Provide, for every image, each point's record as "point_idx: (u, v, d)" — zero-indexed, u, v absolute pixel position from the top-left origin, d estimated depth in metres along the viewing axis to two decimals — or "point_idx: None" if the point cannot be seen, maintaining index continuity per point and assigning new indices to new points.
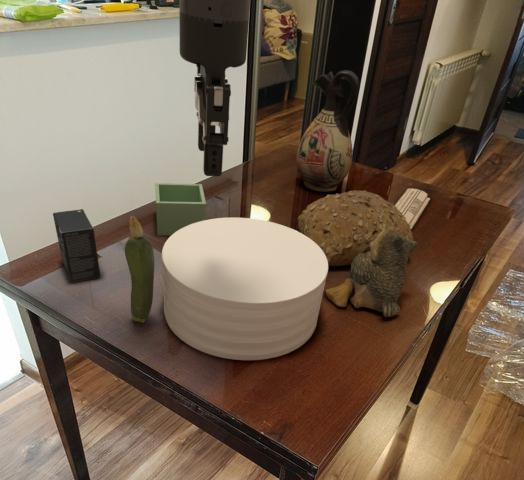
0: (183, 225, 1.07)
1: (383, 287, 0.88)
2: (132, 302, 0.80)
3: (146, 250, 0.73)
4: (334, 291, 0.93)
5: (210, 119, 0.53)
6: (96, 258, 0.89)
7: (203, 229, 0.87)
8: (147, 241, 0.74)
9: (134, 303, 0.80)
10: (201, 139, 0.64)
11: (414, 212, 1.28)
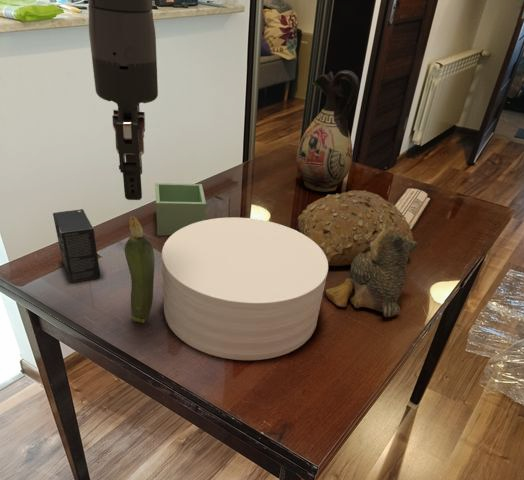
0: (183, 225, 1.07)
1: (383, 287, 0.88)
2: (132, 302, 0.80)
3: (146, 250, 0.73)
4: (334, 291, 0.93)
5: (122, 151, 0.58)
6: (96, 258, 0.89)
7: (203, 229, 0.87)
8: (147, 241, 0.74)
9: (134, 303, 0.80)
10: None
11: (414, 212, 1.28)
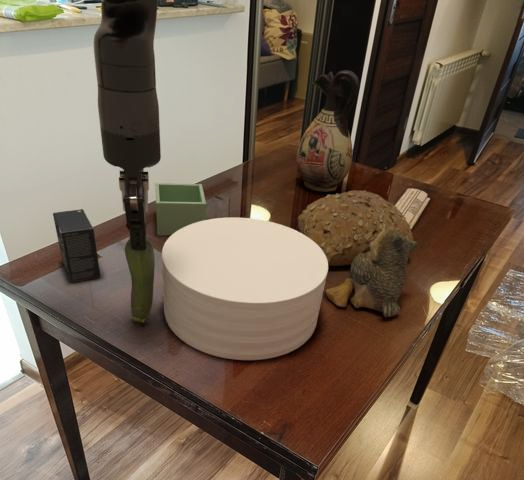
0: (183, 225, 1.07)
1: (383, 287, 0.88)
2: (132, 302, 0.80)
3: (146, 250, 0.73)
4: (334, 291, 0.93)
5: (129, 218, 0.65)
6: (96, 258, 0.89)
7: (203, 229, 0.87)
8: (147, 241, 0.74)
9: (134, 303, 0.80)
10: None
11: (414, 212, 1.28)
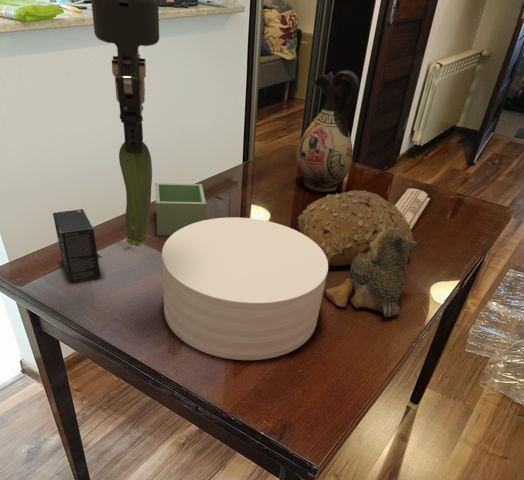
0: (183, 225, 1.07)
1: (383, 287, 0.88)
2: (127, 221, 0.73)
3: (143, 155, 0.66)
4: (334, 291, 0.93)
5: (123, 105, 0.58)
6: (96, 258, 0.89)
7: (203, 229, 0.87)
8: (144, 145, 0.66)
9: (129, 222, 0.72)
10: None
11: (414, 212, 1.28)
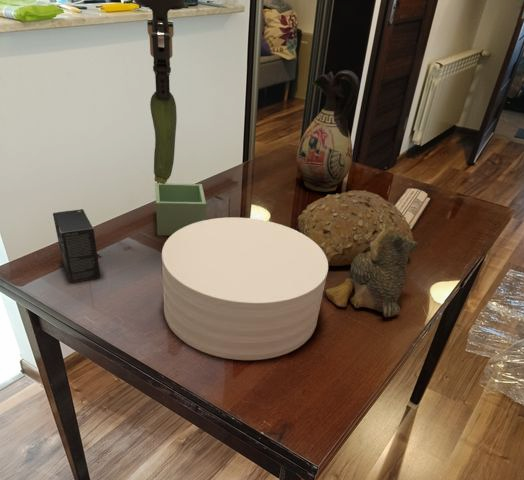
0: (183, 225, 1.07)
1: (383, 287, 0.88)
2: (155, 161, 0.88)
3: (170, 102, 0.81)
4: (334, 291, 0.93)
5: (156, 57, 0.73)
6: (96, 258, 0.89)
7: (203, 229, 0.87)
8: (171, 94, 0.81)
9: (157, 162, 0.88)
10: None
11: (414, 212, 1.28)
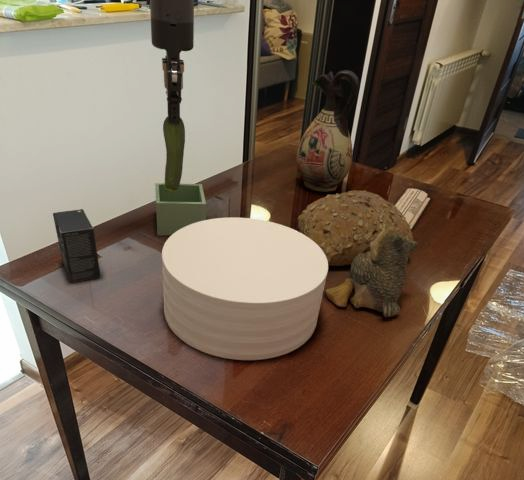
0: (183, 225, 1.07)
1: (383, 287, 0.88)
2: (166, 174, 1.03)
3: (180, 125, 0.96)
4: (334, 291, 0.93)
5: (170, 90, 0.88)
6: (96, 258, 0.89)
7: (203, 229, 0.87)
8: (180, 119, 0.96)
9: (168, 175, 1.02)
10: None
11: (414, 212, 1.28)
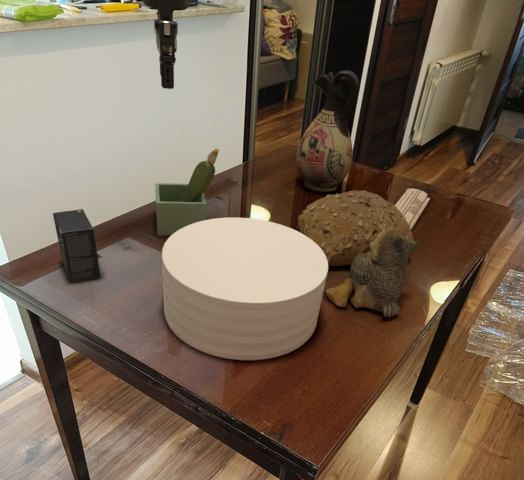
0: (183, 225, 1.07)
1: (383, 287, 0.88)
2: None
3: (212, 175, 1.03)
4: (334, 291, 0.93)
5: (162, 44, 0.80)
6: (96, 258, 0.89)
7: (203, 229, 0.87)
8: (214, 169, 1.03)
9: None
10: None
11: (414, 212, 1.28)
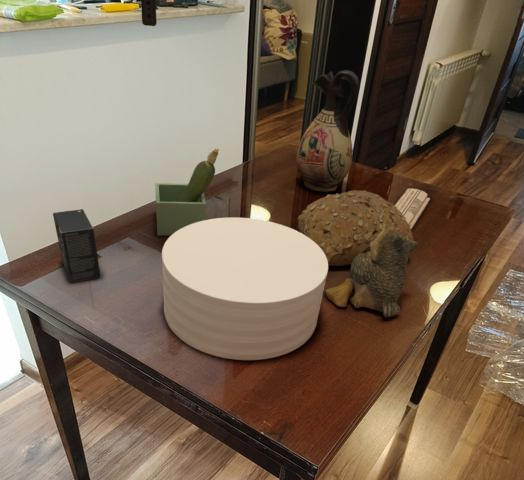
0: (183, 225, 1.07)
1: (383, 287, 0.88)
2: None
3: (212, 175, 1.03)
4: (334, 291, 0.93)
5: None
6: (96, 258, 0.89)
7: (203, 229, 0.87)
8: (214, 169, 1.03)
9: None
10: None
11: (414, 212, 1.28)
